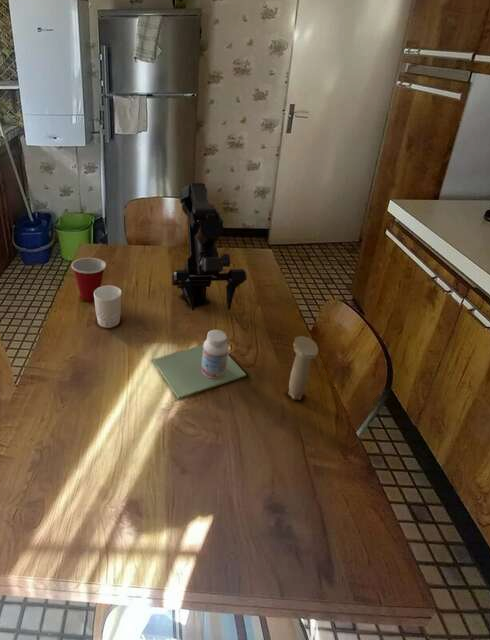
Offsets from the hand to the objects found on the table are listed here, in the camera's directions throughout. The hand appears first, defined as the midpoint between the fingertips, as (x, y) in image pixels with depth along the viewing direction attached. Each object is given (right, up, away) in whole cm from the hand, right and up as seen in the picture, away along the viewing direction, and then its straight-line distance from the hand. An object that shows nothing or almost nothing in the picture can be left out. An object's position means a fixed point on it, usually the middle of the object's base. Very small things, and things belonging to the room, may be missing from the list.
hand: (211, 310), depth 111 cm
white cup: (-28, -6, +18) cm, 34 cm away
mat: (-3, -15, 0) cm, 15 cm away
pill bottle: (0, -15, -1) cm, 15 cm away
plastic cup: (-35, 0, +30) cm, 46 cm away
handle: (+19, -19, -8) cm, 28 cm away
